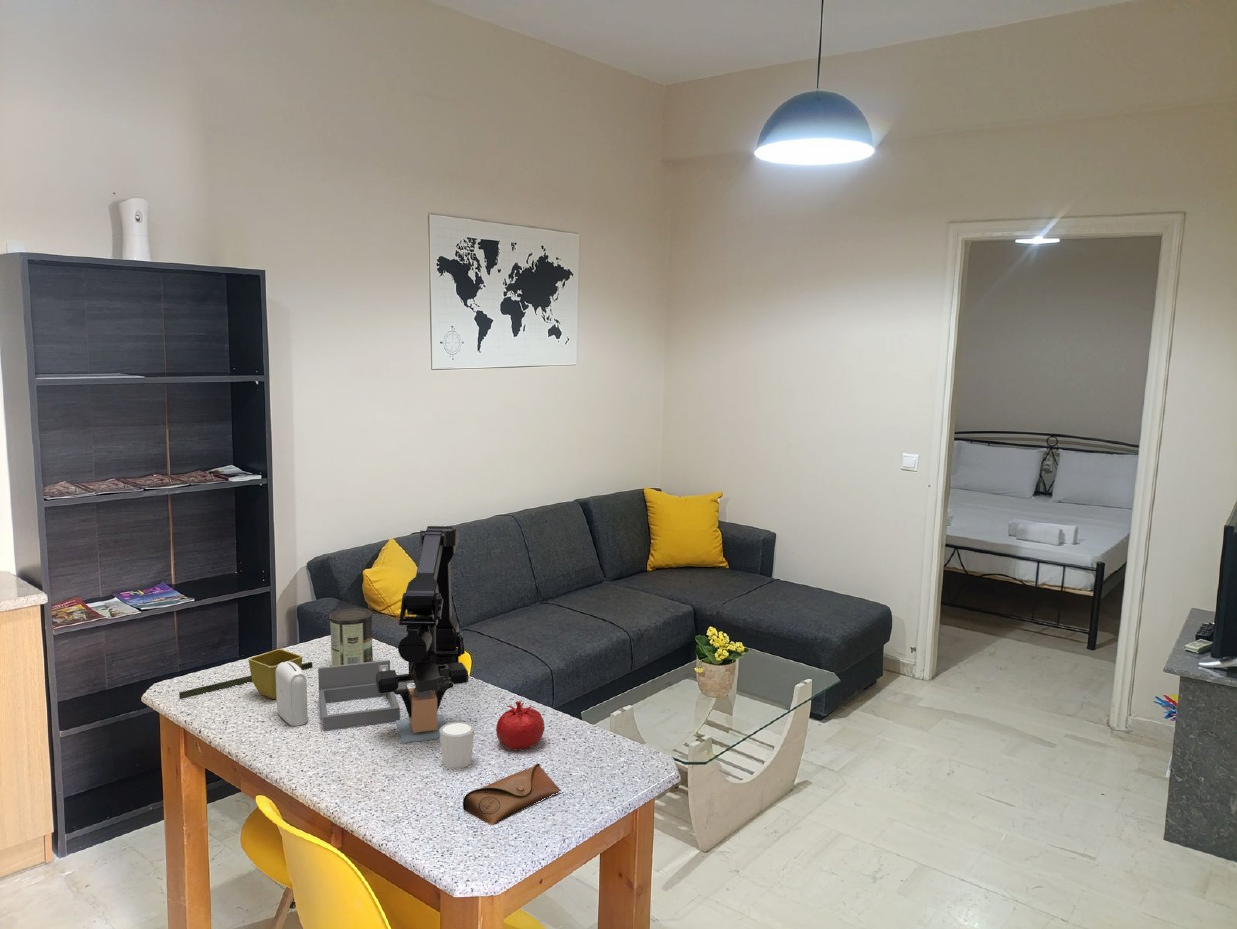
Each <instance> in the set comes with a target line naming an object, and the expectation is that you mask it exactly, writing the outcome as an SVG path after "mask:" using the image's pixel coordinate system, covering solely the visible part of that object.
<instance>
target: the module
mask: <svg viewBox="0 0 1237 929" xmlns="http://www.w3.org/2000/svg"><path fill="white" fill-rule="evenodd" d="M408 690H409V698H410V705H411V718H409V717H408V719H409V722H410V724H411V727H412V730H413V733H416V732H423V731H430V730H437V715H438V712H437V696H436V694H435V692H434V691H433V690H430V691H424V692H417V691H416V688H415V687H411V688H410V687H409V688H408Z"/></svg>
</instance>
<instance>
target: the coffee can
mask: <svg viewBox="0 0 1237 929" xmlns="http://www.w3.org/2000/svg"><path fill="white" fill-rule="evenodd" d="M372 618H373V611H371V610H370V609H368V608H367V609H366V608H357V607H356V608H354V607H353V608H345V609H339V610H336V611H333V612H331V613H330V614H329V621H330V622H329V623H330V649H331V666H337V665H346V664H355V663H365V662H374V661H373V660H374V658H373V656H374V655H373V619H372Z"/></svg>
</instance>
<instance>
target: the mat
mask: <svg viewBox="0 0 1237 929" xmlns="http://www.w3.org/2000/svg"><path fill="white" fill-rule="evenodd" d="M445 724H447V723H446V722H445V719H444V717H443V715H442V713H441V714H437V730H430V731H423V732H416V733H413V730H412V727H411V724H410V722H409V718H405V719H400V720H396V721H395V725H396V728H397V731H398V734H399V737H400V739H401V743H402V744H410V743H416V742H424V741H430V740H436V739H437V740H438V739H440V730H439V729H440V728H441V727H442V726H443V725H445Z"/></svg>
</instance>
